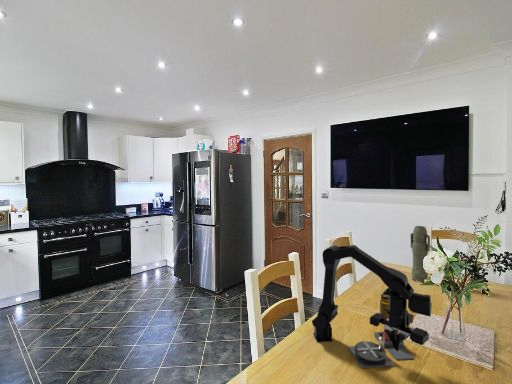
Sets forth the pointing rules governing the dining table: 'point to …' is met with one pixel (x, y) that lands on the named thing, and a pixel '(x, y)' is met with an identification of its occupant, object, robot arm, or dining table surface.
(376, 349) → the handwheel
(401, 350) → the mat
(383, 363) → the wheel base
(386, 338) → the pink rounded cylinder
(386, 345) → the collar
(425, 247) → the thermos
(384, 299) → the condiment
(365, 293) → the dining table surface
